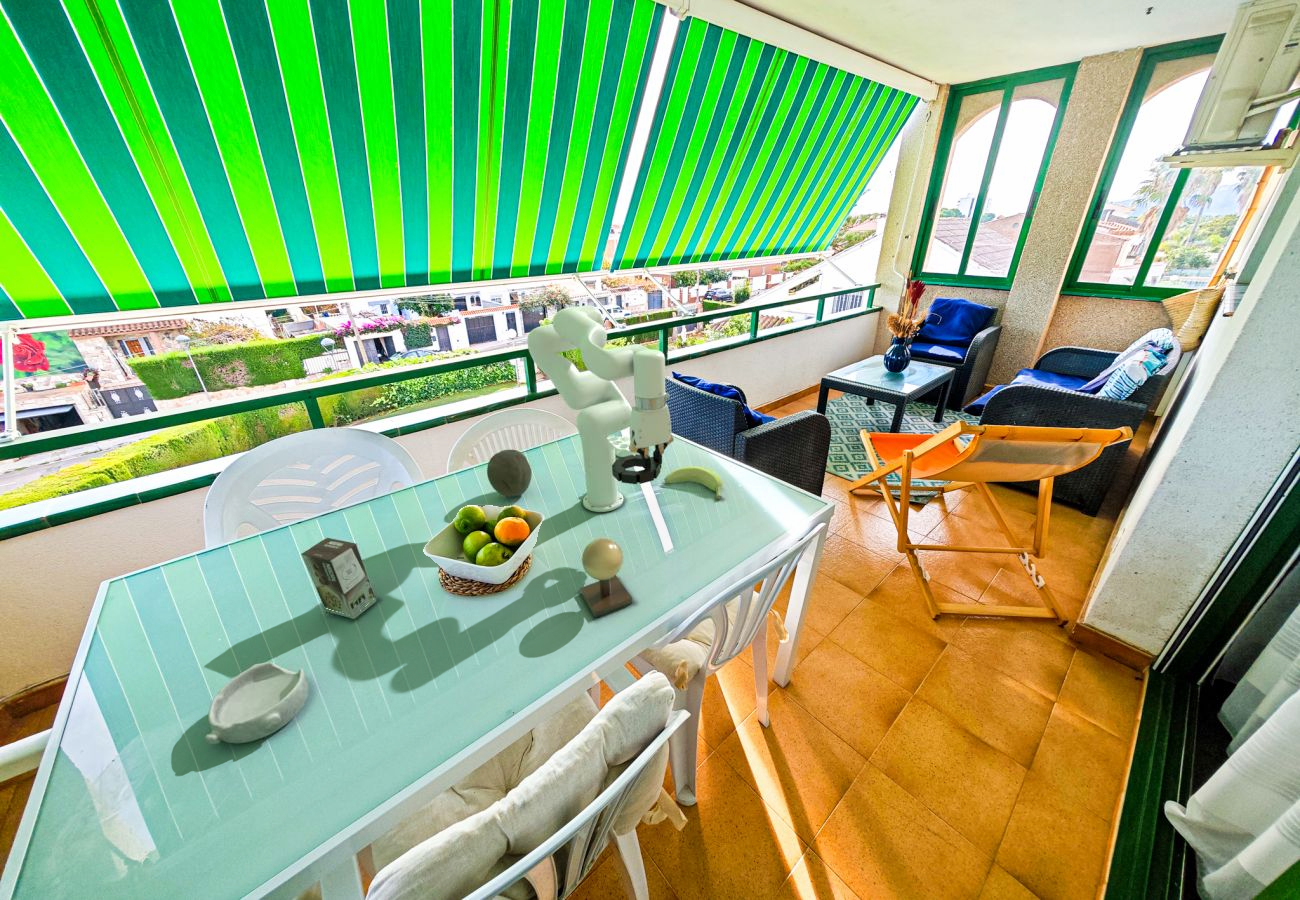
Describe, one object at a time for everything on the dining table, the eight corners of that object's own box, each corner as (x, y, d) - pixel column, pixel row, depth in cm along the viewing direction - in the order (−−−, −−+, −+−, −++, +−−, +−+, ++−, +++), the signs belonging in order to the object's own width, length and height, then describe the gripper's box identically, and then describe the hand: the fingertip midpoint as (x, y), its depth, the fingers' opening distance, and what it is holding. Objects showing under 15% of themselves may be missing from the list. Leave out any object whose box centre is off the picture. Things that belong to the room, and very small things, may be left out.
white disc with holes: (655, 451, 178) (626, 463, 169) (625, 438, 190) (597, 449, 181) (655, 443, 176) (626, 454, 167) (625, 431, 188) (596, 441, 180)
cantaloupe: (544, 489, 152) (538, 448, 146) (511, 509, 142) (503, 465, 135) (514, 479, 159) (507, 440, 153) (481, 497, 149) (472, 456, 143)
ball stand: (580, 592, 107) (574, 537, 100) (616, 579, 110) (611, 525, 104) (595, 617, 99) (589, 560, 93) (632, 603, 103) (629, 546, 97)
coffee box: (378, 600, 106) (357, 543, 100) (353, 620, 101) (330, 561, 94) (349, 592, 109) (327, 536, 103) (324, 611, 104) (299, 553, 97)
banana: (693, 454, 157) (733, 482, 143) (695, 466, 160) (734, 495, 146) (661, 473, 152) (699, 505, 138) (664, 485, 155) (701, 517, 141)
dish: (253, 679, 88) (243, 660, 85) (328, 672, 88) (320, 654, 86) (190, 756, 74) (176, 736, 72) (280, 747, 75) (268, 727, 73)
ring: (606, 469, 120) (605, 461, 119) (645, 459, 125) (645, 451, 124) (625, 488, 111) (625, 479, 110) (667, 476, 116) (667, 467, 115)
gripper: (670, 392, 119) (671, 456, 126) (614, 403, 112) (618, 470, 120) (686, 399, 113) (685, 466, 120) (627, 411, 106) (631, 481, 113)
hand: (652, 467), depth 120 cm, fingers closed on ring, 2 cm apart
